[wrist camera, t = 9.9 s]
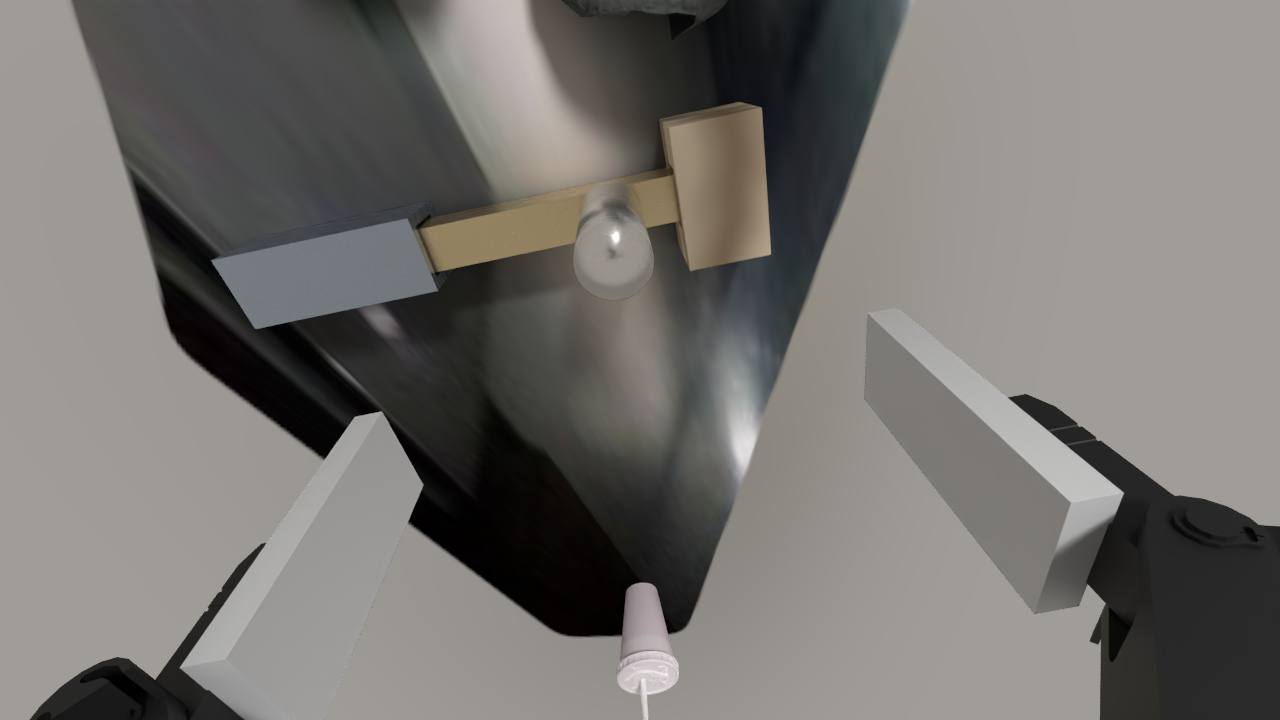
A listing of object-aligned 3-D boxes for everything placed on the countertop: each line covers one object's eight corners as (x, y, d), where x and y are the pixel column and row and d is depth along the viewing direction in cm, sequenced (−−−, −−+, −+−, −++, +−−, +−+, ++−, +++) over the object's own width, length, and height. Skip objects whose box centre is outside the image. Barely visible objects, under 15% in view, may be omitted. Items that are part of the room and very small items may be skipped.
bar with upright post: (411, 272, 38) (331, 359, 27) (388, 219, 36) (291, 289, 25) (716, 208, 37) (767, 269, 26) (709, 150, 35) (761, 189, 24)
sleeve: (293, 300, 39) (255, 329, 35) (256, 237, 37) (211, 260, 33) (456, 266, 39) (438, 290, 35) (430, 200, 36) (407, 218, 32)
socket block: (678, 245, 39) (690, 271, 34) (659, 119, 35) (668, 127, 30) (749, 230, 39) (770, 254, 34) (738, 101, 35) (761, 107, 30)
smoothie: (611, 578, 58) (614, 712, 46) (667, 572, 58) (684, 704, 46) (617, 612, 61) (621, 746, 49) (670, 606, 61) (687, 739, 49)
